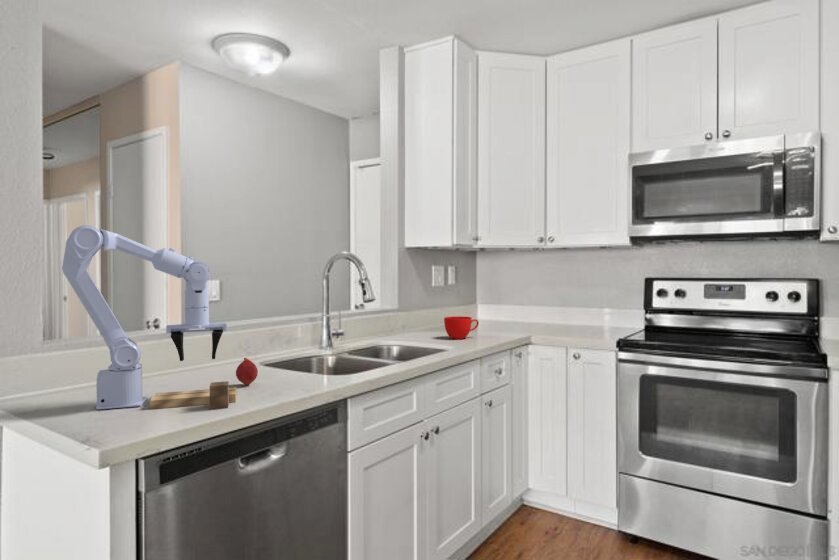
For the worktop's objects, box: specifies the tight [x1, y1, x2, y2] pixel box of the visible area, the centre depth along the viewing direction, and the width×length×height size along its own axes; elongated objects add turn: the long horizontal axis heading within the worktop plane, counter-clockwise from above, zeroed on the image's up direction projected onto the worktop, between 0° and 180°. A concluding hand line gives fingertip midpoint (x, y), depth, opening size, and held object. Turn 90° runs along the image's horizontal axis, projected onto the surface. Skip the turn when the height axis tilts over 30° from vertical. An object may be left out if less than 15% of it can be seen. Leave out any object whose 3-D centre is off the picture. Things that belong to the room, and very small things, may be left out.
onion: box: [235, 357, 258, 387], centre depth 146 cm, size 6×6×8 cm
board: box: [149, 386, 238, 410], centre depth 128 cm, size 19×8×2 cm, turn 108°
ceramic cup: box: [443, 316, 479, 340], centre depth 244 cm, size 13×17×10 cm
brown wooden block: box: [209, 381, 230, 411], centre depth 125 cm, size 4×9×6 cm, turn 18°
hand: (197, 359), depth 134 cm, fingers open, 7 cm apart
